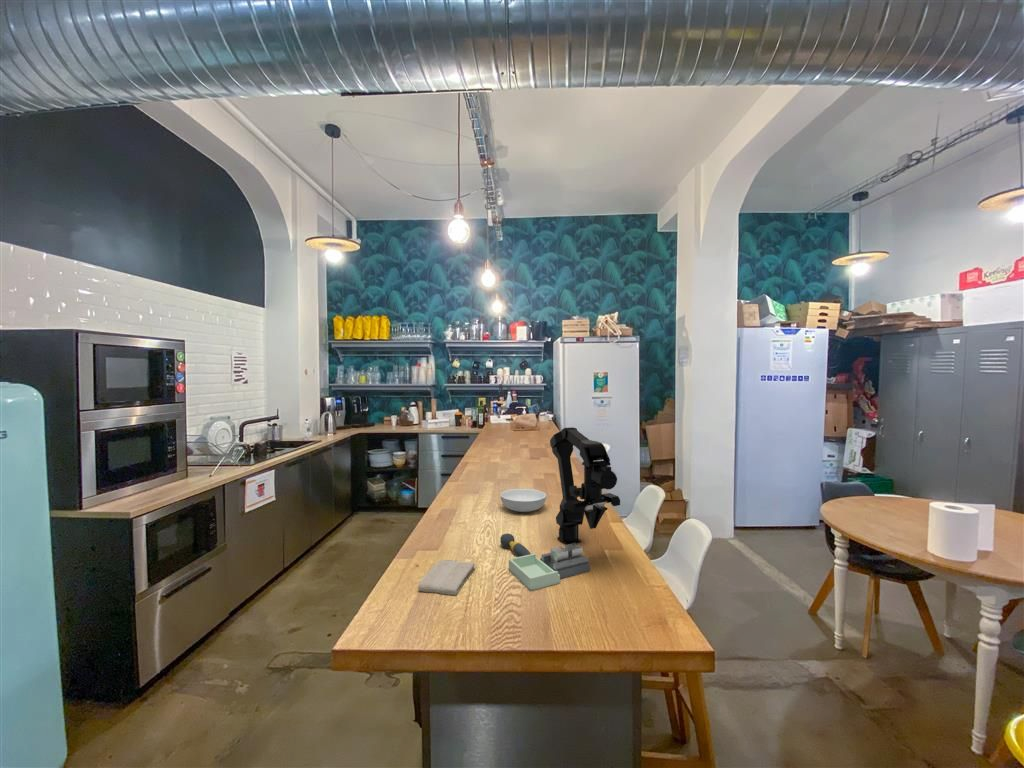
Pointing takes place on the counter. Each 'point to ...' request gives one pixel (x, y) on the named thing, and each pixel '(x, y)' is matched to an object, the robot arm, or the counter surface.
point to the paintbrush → (513, 545)
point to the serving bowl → (523, 499)
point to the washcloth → (446, 577)
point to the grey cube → (574, 551)
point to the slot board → (567, 565)
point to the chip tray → (533, 572)
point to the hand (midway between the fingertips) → (592, 528)
